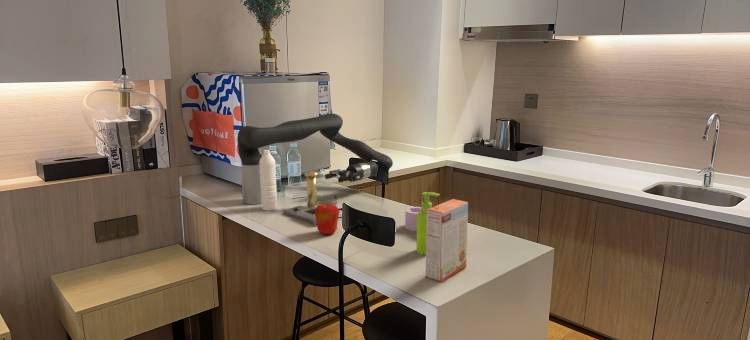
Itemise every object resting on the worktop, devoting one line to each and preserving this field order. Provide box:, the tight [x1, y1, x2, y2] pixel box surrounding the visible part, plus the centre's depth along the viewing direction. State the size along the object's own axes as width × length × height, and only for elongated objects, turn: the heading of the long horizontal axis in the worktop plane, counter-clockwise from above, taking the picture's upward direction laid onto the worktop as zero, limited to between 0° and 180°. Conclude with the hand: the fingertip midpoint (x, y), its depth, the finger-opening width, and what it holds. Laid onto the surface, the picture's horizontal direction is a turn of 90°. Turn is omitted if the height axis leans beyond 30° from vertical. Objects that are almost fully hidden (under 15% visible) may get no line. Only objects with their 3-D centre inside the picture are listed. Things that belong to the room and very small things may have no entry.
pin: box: [303, 170, 319, 208], centre depth 211 cm, size 6×6×15 cm
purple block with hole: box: [404, 206, 421, 232], centre depth 185 cm, size 20×12×7 cm, turn 56°
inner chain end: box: [282, 205, 315, 225], centre depth 202 cm, size 19×9×2 cm, turn 47°
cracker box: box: [425, 198, 469, 283], centre depth 148 cm, size 14×6×21 cm, turn 139°
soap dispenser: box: [416, 191, 440, 256], centre depth 164 cm, size 6×7×20 cm
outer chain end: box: [297, 206, 317, 226], centre depth 197 cm, size 13×9×4 cm
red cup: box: [315, 202, 340, 236], centre depth 182 cm, size 9×8×12 cm
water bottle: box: [259, 149, 278, 211], centre depth 209 cm, size 9×6×25 cm
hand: (332, 178), depth 219 cm, fingers open, 8 cm apart
